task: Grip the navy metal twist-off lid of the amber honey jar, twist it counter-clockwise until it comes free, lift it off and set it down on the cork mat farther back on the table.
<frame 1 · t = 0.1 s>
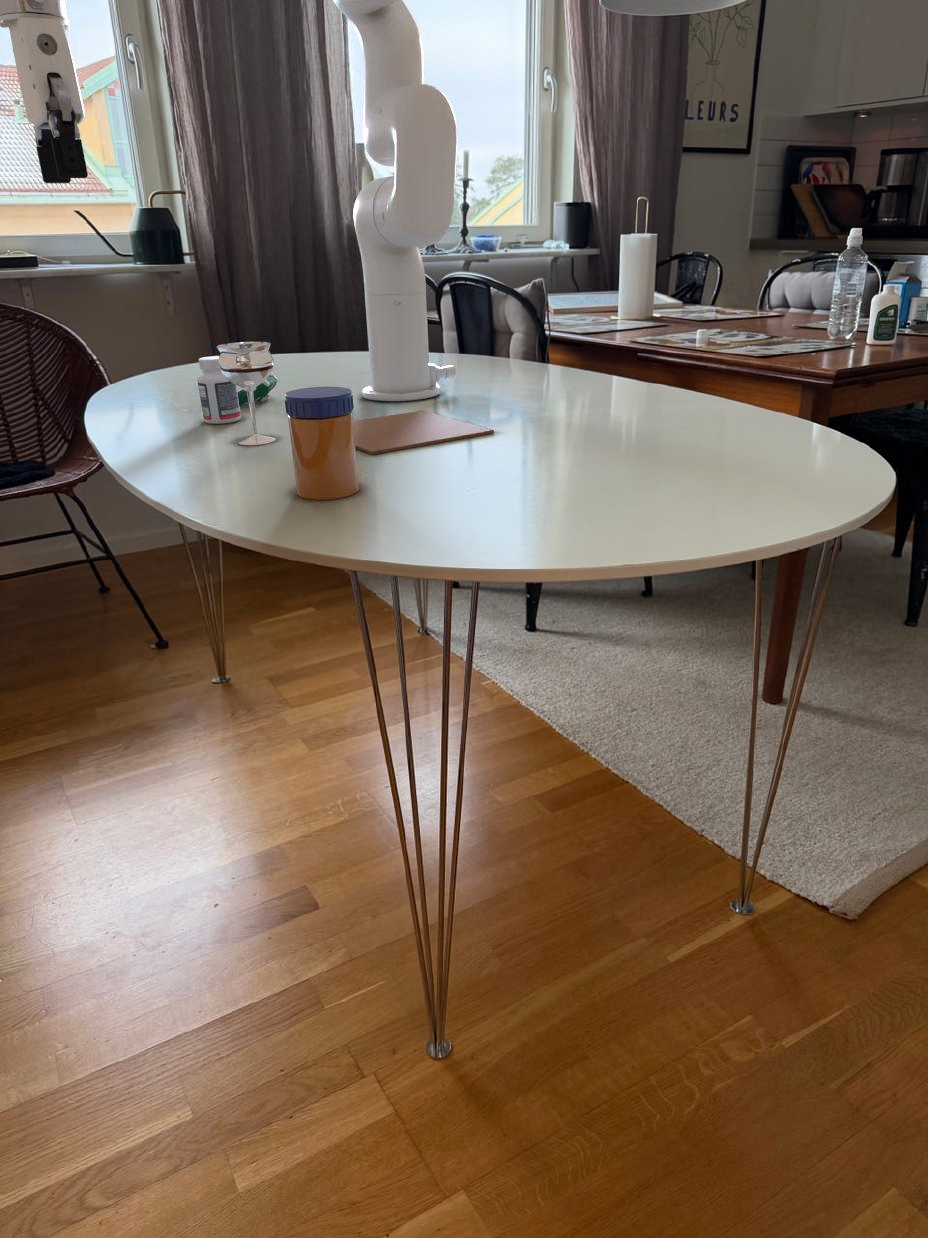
hand: (65, 180, 104), 31 cm above the table, tool pointing down, fingers open, 9 cm apart
pill bottle: (222, 422, 124), on the table
lid: (318, 396, 85), point 10 cm above the table, screwed on, not yet turned
wineglass: (256, 442, 112), on the table
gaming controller: (257, 402, 139), on the table
mat: (399, 431, 114), on the table
jar: (328, 491, 89), on the table
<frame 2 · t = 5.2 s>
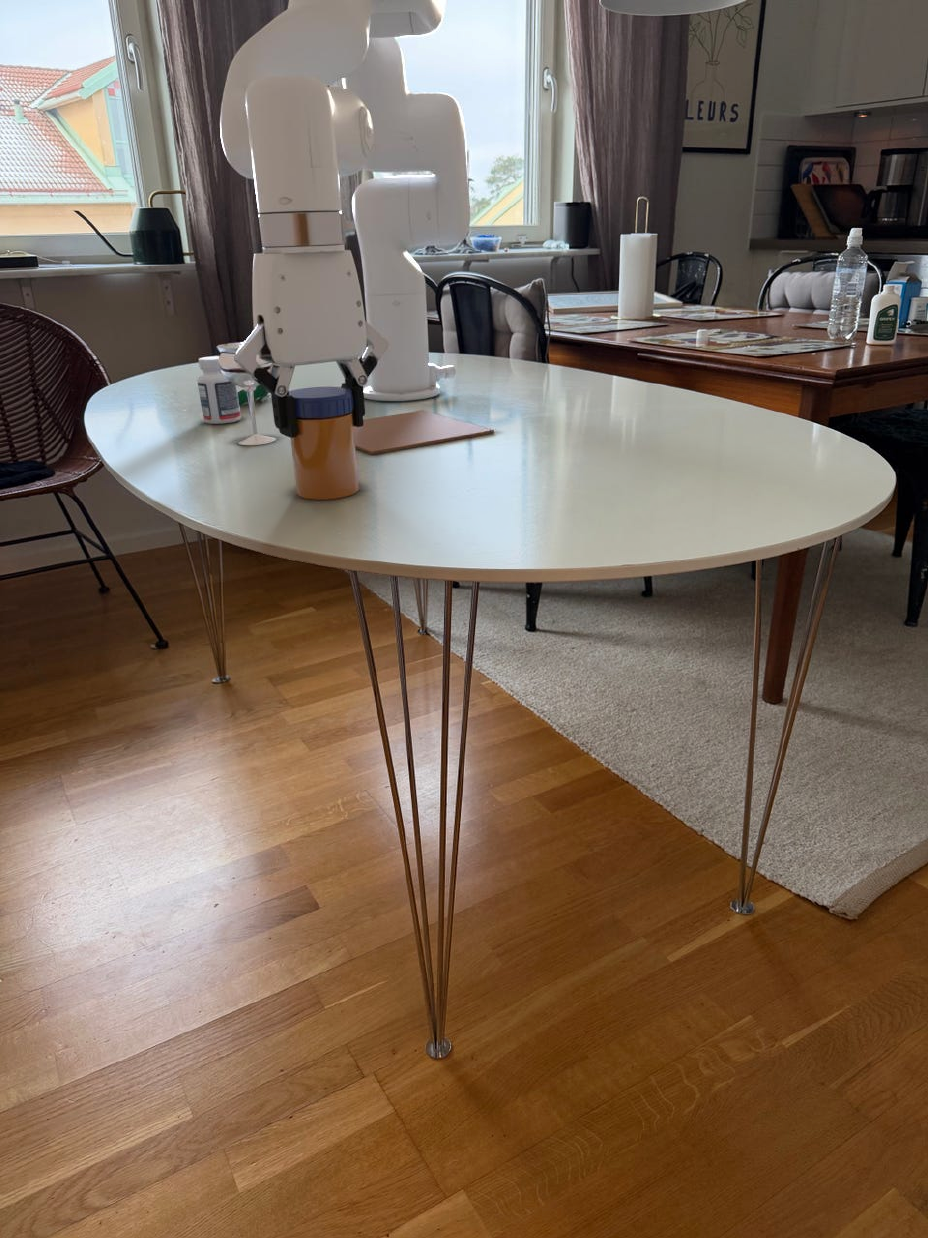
hand: (321, 428, 86), 7 cm above the table, tool pointing down, fingers closed on lid, 6 cm apart
lid: (318, 396, 85), point 10 cm above the table, screwed on, not yet turned, touching gripper
jar: (328, 491, 89), on the table, touching gripper
everything else where it was.
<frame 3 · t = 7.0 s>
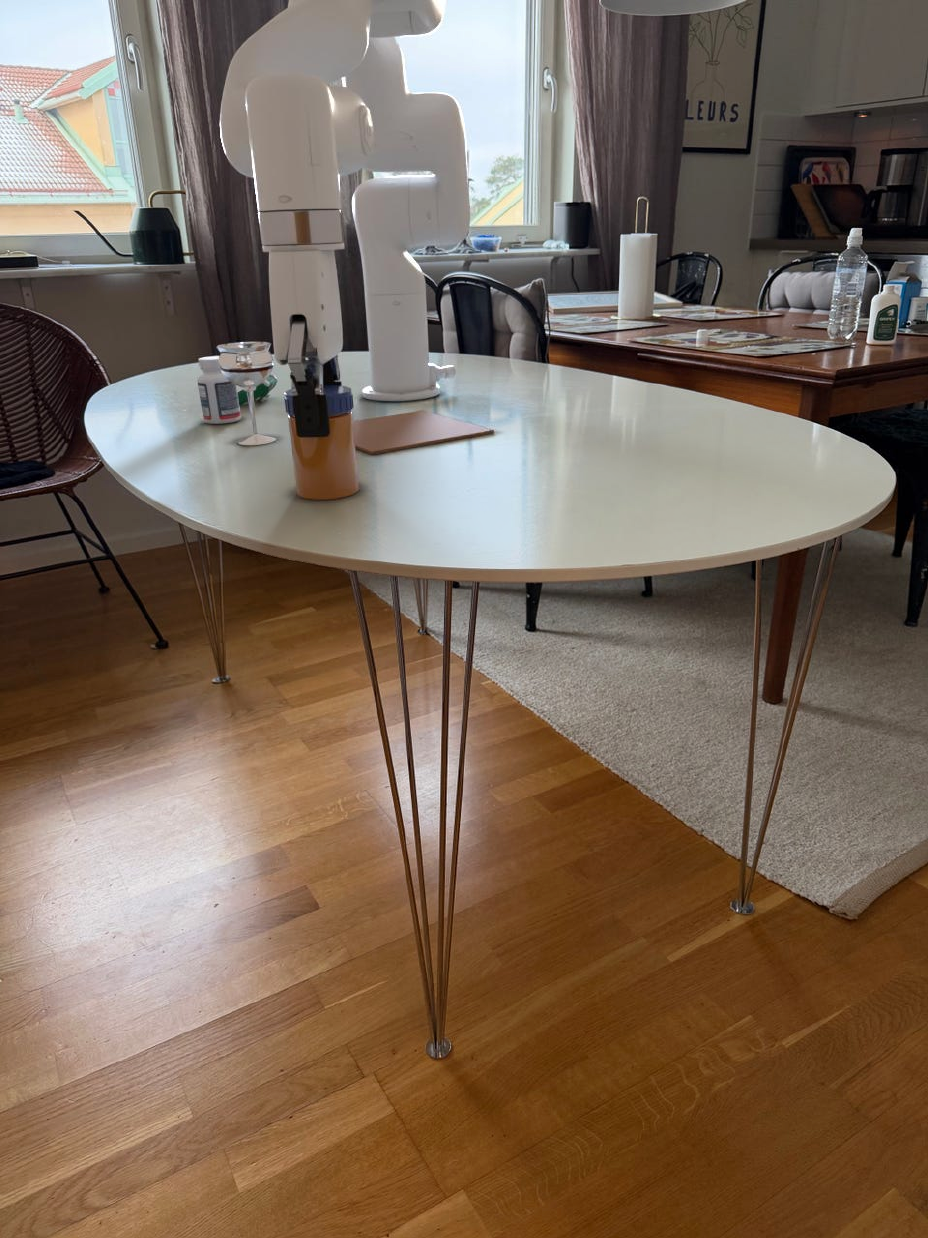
hand: (321, 426, 86), 7 cm above the table, tool pointing down, fingers closed on lid, 6 cm apart
lid: (318, 394, 85), point 10 cm above the table, turned 53° so far, risen 0.1 cm, still on its thread, touching gripper
everything else where it was.
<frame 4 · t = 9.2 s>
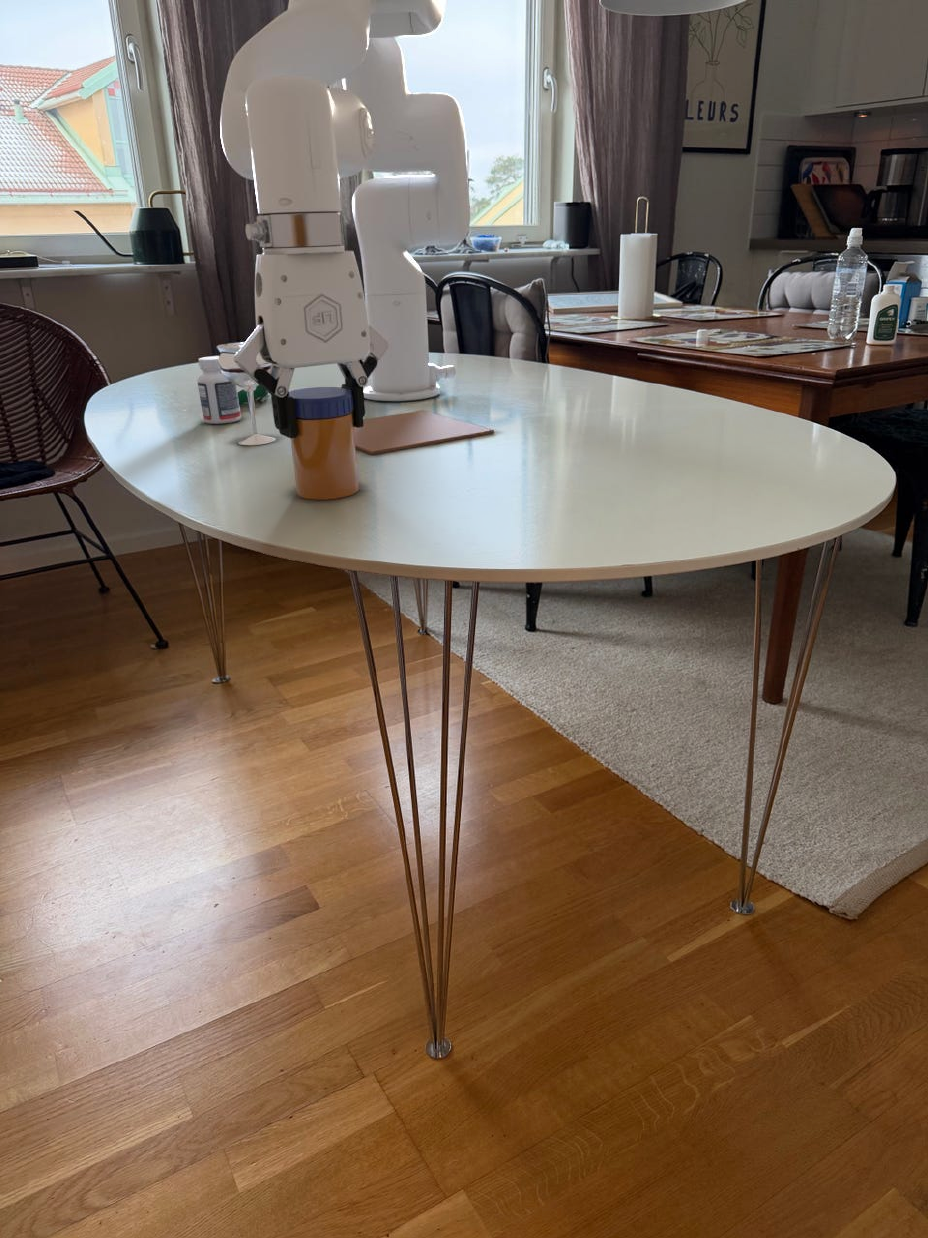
hand: (321, 428, 86), 6 cm above the table, tool pointing down, fingers closed on lid, 6 cm apart
lid: (318, 396, 85), point 10 cm above the table, off its thread, touching gripper
everything else where it was.
when the fingers open (1 cm above the table, at t = 27.1 s): lid drops 3 cm, resting on mat.
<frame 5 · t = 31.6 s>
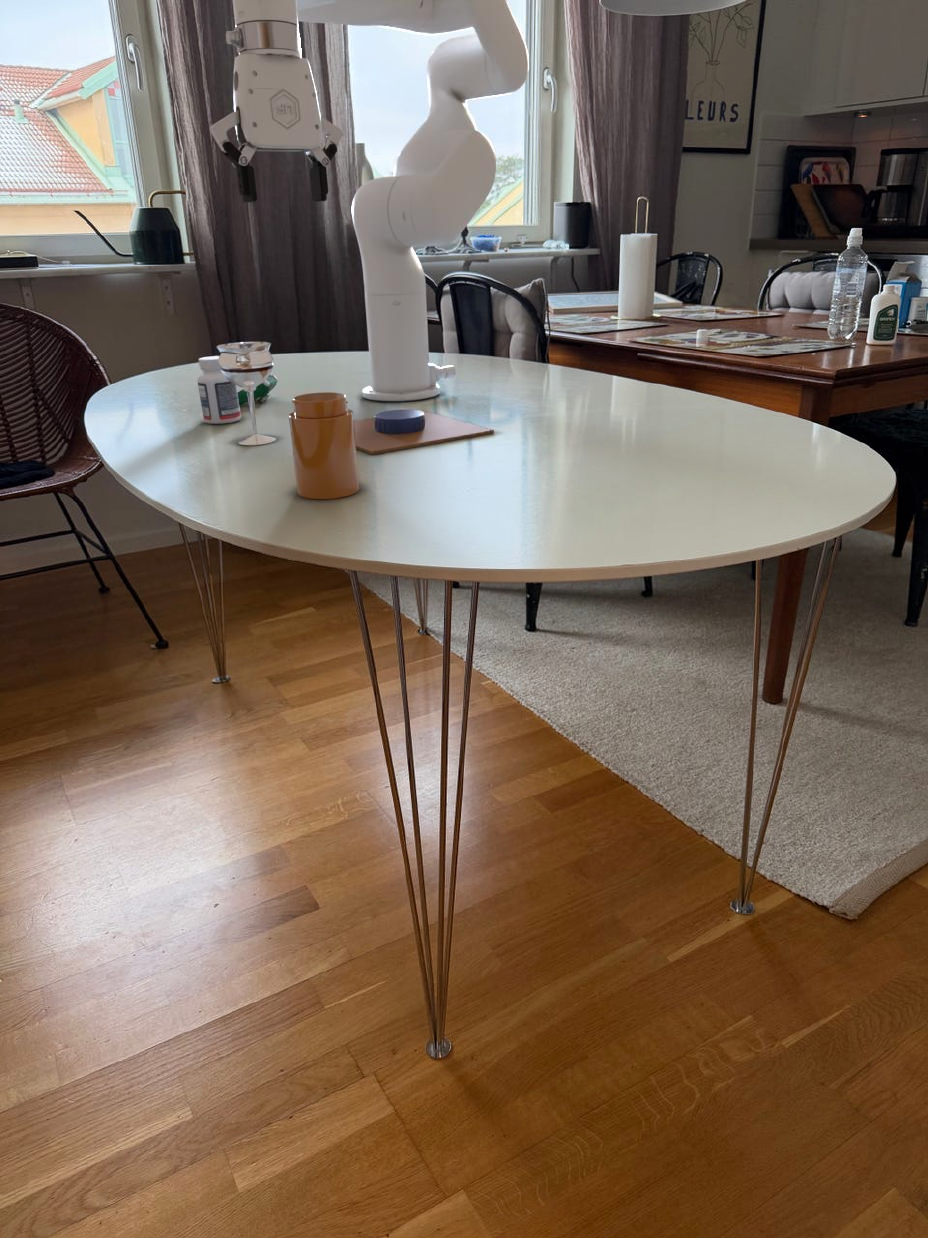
hand: (285, 201, 111), 28 cm above the table, tool pointing down, fingers open, 9 cm apart
lid: (399, 417, 113), point 2 cm above the table, off its thread, touching mat
jar: (328, 490, 89), on the table
everything else where it was.
at the end: lid came off its thread; lid inside the target area on the mat (0.1 cm from its centre), point 1.9 cm above the mat's base; the gripper is holding nothing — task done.
